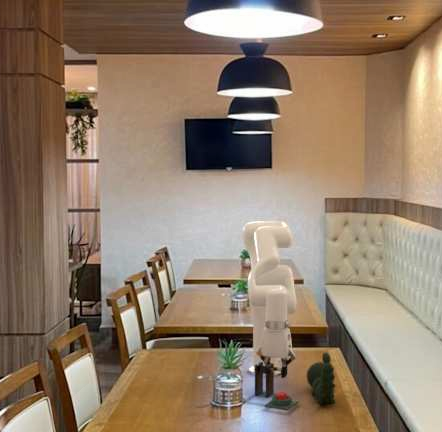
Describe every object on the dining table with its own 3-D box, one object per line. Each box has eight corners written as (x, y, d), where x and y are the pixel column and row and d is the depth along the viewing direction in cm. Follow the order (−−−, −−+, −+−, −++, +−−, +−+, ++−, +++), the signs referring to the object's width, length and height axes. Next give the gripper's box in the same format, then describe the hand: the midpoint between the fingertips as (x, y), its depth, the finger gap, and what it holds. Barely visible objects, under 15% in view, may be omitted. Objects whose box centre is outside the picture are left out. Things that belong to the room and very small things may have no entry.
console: (276, 402, 220) (276, 391, 220) (298, 405, 217) (298, 395, 216) (264, 410, 212) (264, 399, 212) (287, 414, 208) (287, 403, 208)
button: (279, 396, 216) (279, 391, 216) (288, 398, 215) (288, 392, 215) (275, 399, 213) (275, 394, 213) (284, 400, 212) (284, 395, 212)
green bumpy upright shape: (342, 415, 212) (330, 385, 237) (343, 359, 210) (331, 333, 234) (312, 416, 212) (304, 385, 237) (313, 359, 209) (304, 334, 234)
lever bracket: (259, 392, 231) (259, 358, 230) (283, 395, 227) (283, 361, 226) (244, 402, 220) (244, 367, 219) (269, 406, 216) (269, 370, 216)
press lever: (270, 371, 233) (270, 364, 234) (283, 373, 231) (283, 366, 232) (255, 372, 223) (256, 365, 223) (269, 374, 221) (269, 366, 221)
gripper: (303, 324, 231) (302, 376, 232) (258, 320, 238) (258, 370, 239) (295, 329, 224) (294, 382, 225) (249, 324, 231) (249, 375, 232)
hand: (276, 375), depth 232 cm, fingers closed on press lever, 5 cm apart
